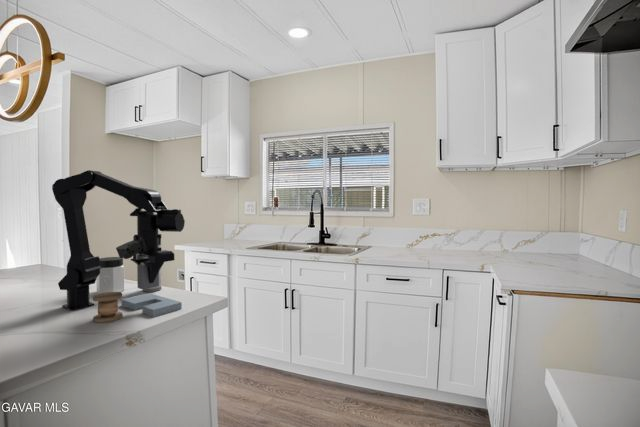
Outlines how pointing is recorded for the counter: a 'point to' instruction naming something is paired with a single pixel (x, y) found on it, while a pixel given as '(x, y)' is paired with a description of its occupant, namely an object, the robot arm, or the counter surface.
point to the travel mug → (159, 277)
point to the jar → (110, 275)
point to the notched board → (151, 304)
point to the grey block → (145, 277)
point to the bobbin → (107, 307)
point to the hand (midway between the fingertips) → (148, 282)
